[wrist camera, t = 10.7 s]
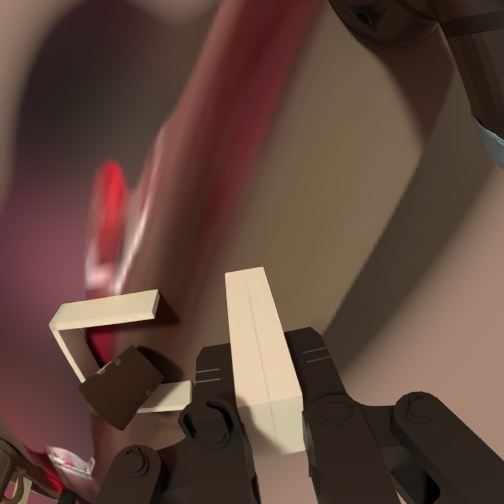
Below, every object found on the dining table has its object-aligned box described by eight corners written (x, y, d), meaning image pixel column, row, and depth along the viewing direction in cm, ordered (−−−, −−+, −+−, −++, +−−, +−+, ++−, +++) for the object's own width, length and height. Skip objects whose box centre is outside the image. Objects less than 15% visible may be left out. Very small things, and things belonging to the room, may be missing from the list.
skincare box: (21, 475, 62) (13, 503, 51) (33, 481, 64) (25, 509, 53) (17, 477, 63) (9, 504, 52) (28, 483, 65) (21, 510, 54)
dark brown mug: (138, 350, 36) (84, 403, 31) (179, 391, 40) (131, 440, 35) (115, 327, 45) (71, 369, 41) (149, 363, 49) (108, 403, 44)
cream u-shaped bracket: (157, 289, 40) (151, 311, 35) (192, 384, 47) (191, 408, 43) (61, 304, 39) (48, 324, 35) (108, 391, 47) (102, 413, 42)
